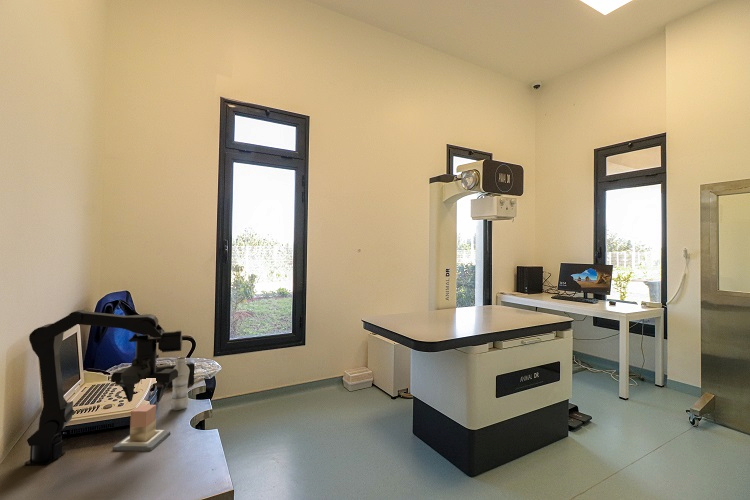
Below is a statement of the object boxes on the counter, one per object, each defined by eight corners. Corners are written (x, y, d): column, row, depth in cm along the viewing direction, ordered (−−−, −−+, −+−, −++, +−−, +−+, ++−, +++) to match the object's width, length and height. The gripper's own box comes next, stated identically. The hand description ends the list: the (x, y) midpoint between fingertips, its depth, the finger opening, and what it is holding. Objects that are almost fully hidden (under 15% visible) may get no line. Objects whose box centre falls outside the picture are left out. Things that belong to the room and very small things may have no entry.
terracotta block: (130, 427, 109) (130, 411, 109) (140, 419, 114) (141, 404, 114) (146, 427, 109) (146, 411, 109) (155, 419, 114) (156, 404, 114)
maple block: (129, 442, 109) (130, 426, 109) (140, 434, 114) (140, 419, 114) (145, 442, 109) (146, 427, 109) (155, 435, 114) (155, 419, 114)
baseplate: (112, 450, 106) (112, 444, 106) (134, 434, 116) (134, 428, 116) (151, 450, 106) (151, 444, 107) (170, 434, 116) (170, 429, 117)
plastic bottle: (167, 413, 132) (169, 361, 133) (172, 406, 139) (174, 356, 139) (186, 411, 134) (187, 360, 135) (190, 404, 140) (192, 355, 141)
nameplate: (193, 383, 165) (194, 362, 165) (193, 384, 163) (194, 363, 164) (141, 391, 154) (142, 368, 154) (141, 392, 153) (142, 370, 153)
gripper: (98, 360, 104) (95, 412, 104) (159, 361, 104) (157, 412, 104) (124, 351, 115) (122, 397, 115) (179, 351, 116) (178, 398, 115)
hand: (144, 401), depth 112 cm, fingers open, 9 cm apart
